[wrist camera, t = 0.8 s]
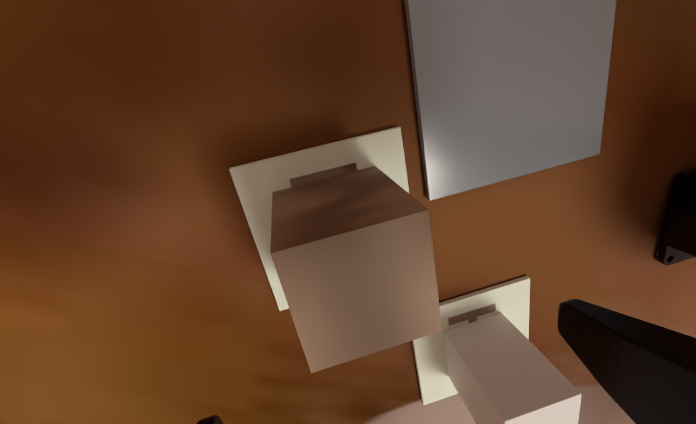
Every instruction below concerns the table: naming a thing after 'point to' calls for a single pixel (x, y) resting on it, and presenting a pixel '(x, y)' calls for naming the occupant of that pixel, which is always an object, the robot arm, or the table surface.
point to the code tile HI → (459, 312)
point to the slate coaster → (507, 86)
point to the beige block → (507, 376)
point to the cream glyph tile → (306, 168)
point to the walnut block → (354, 265)
